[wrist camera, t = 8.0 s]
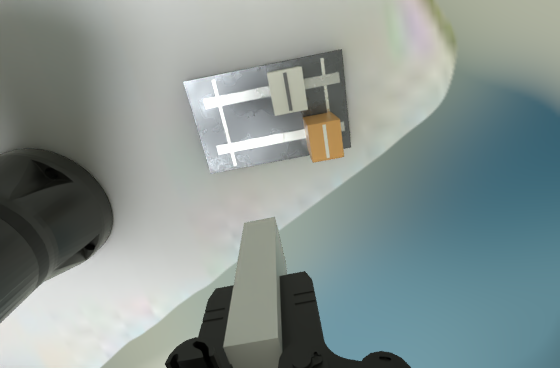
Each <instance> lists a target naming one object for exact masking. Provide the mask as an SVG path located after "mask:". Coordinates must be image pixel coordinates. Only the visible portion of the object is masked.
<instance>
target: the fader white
mask: <svg viewBox="0 0 560 368" xmlns="http://www.w3.org/2000/svg"><path fill="white" fill-rule="evenodd" d="M267 78H268V83H269V88H270V93H271V98H272V104H273V109H274V114H275V116H277V115H283V114H288V113H293V112H298V111H303V110H308V106H307V99H306V93H305V86H304V79H303V72H302V67H300V66H296V67H292V68H287V69H282V70H277V71H272V72H267Z"/></svg>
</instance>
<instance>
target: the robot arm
mask: <svg viewBox="0 0 560 368" xmlns="http://www.w3.org/2000/svg"><path fill="white" fill-rule="evenodd" d="M111 227H112V211H111V207H110V203H109V201H108V198H107V196H106V194H105V192H104V191H103V189H102V188H101V186H100V185H99V184H98V182H97V181H96V180H95V179H94V178H93V177H92V176H91V175H90V174H89V173H88V172H87V171H86V170H85V169H83V168H82V167H81V166H79V165H78V164H76V163H75V162H73V161H71V160H69V159H68V158H65V157H63V156H61V155H58V154H56V153H53V152H49V151H45V150H39V149H18V150H13V151H9V152H6V153H3V154H0V323H1V322H2V321H3V320H4V319H5V318H6V317H7V316H8V315H9V314H10V313H11V312H12V311H13V310H14V309H15V308H16V307H18V306H19V305H20V304H21V303H22V302H23V301H24V300H25V299H26V298H27V297H28V296H29V295H30V294H31V293H32V292H33V291H34V290H35V289H36V288H37V287H38V286H39V285H41V284H42V283H43V282H44V281H47V280H49V279H51V278H53V277H55V276H57V275H59V274H61V273H63V272H65V271H67V270H69V269H71V268H73V267H75V266H77V265H79V264H81V263H83V262H85V261H86V260H87V259H89V258H90V257H91V256H93V255H94V254H95V252H96V251H97V250H98V249H99V248H100V247H101V246H102V245H103V244H104V243H105V241H106V240H107V238H108V236H109V234H110V231H111ZM165 365H166V367H167V368H411V367H410V366H409V365H408V364H407V363H406V362H405V361H404V360H403V359H402V358H401V357H399V356H397V355H395V354H393V353H389V352H383V351H379V352H374V353H370V354H369V355H368V356H366V357H365V358H363V360H362V361H356V360H350V359H346V358H342V357H340V356H338V355H336V354H334V353H333V352H332V351H331V350H330V349H329V348H328V347H327V346H326V344H325V342H324V338H323V332H322V327H321V322H320V317H319V312H318V306H317V302H316V297H315V292H314V287H313V282H312V279H311V278H310V277H309V276H308V274H307V273H306V272H305V271H304V272H299V273H293V274H288V275H287V270H286V261H285V257H284V253H283V249H282V245H281V240H280V236H279V232H278V228H277V224H276V220H275V217H272V218H267V219H262V220H257V221H252V222H247V223H244V227H243V233H242V239H241V244H240V250H239V256H238V262H237V268H236V274H235V280H234V285H233V286H227V287H222V288H217V289H215V291H214V292H213V294H212V295H211V296H210V298H209V299H208V302H207V306H206V310H205V314H204V317H203V323H202V325H201V329H200V332H199V336H198V338H196V337H195V338H192V339H189V340H186V341H185V342H183V343H182V344H180V345H179V346H177V347H176V348H175V349H174V351H173V352H172V353H171V354H170V355H169V357H168V359H167V361H166V363H165Z"/></svg>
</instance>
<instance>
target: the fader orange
mask: <svg viewBox="0 0 560 368" xmlns="http://www.w3.org/2000/svg"><path fill="white" fill-rule="evenodd" d="M303 123H304V129H305V136H306V142H307V149H308V152H309V154H310V157H311V159H312V162H313V163H314V162H319V161H324V160H330V159H335V158H341V157H344V151H343V142H342V133H341V124H340V119H339V118H338V117H337V116H335V115H334V114H333V113H332V112H328V113H323V114H318V115H312V116H307V117H303Z"/></svg>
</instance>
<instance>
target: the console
mask: <svg viewBox="0 0 560 368" xmlns="http://www.w3.org/2000/svg"><path fill="white" fill-rule="evenodd" d="M296 66H300V67H302V72H303V79H304V86H305V93H306V99H307V106H308V110H303V111H298V112H293V113H288V114H283V115H277V116H275V114H274V109H273V104H272V98H271V93H270V88H269V83H268V78H267V72H272V71H277V70H282V69H287V68H292V67H296ZM183 83H184V86H185V90H186V93H187V96H188V100H189V103H190V106H191V110H192V113H193V116H194V120H195V123H196V126H197V130H198V133H199V136H200V140H201V143H202V146H203V150H204V153H205V156H206V160H207V163H208V166H209V170H210V173H216V172H222V171H227V170H232V169H238V168H243V167H248V166H254V165H259V164H264V163H270V162H275V161H280V160H286V159H291V158H296V157H302V156H307V155H310V154H309V152H308V149H307V142H306V136H305V129H304V123H303V117H307V116H312V115H318V114H323V113H328V112H332V113H333V114H334V115H335V116H337V117H338V118H339V119H340V124H341V133H342V142H343V149H345V148H350V147H351V142H350V132H349V121H348V111H347V101H346V90H345V80H344V70H343V59H342V49H341V50H336V51H331V52H327V53H322V54H317V55H312V56H307V57H302V58H297V59H292V60H287V61H282V62H278V63H273V64H268V65H263V66H258V67H253V68H248V69H243V70H238V71H233V72H229V73H224V74H219V75H214V76H209V77H204V78H199V79H194V80H189V81H185V82H183Z"/></svg>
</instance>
